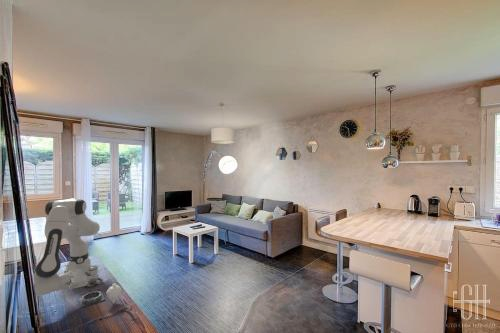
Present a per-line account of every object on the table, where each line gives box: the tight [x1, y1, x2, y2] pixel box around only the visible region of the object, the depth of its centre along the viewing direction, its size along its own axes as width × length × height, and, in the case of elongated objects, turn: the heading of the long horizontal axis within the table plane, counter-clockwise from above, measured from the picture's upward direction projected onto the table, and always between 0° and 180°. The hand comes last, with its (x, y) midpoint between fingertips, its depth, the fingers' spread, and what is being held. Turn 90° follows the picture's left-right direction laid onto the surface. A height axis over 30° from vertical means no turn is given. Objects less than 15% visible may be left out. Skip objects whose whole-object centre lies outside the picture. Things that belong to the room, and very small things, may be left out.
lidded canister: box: [87, 264, 99, 286], centre depth 141 cm, size 5×5×10 cm
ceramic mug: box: [86, 273, 104, 288], centre depth 159 cm, size 11×8×8 cm
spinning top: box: [106, 283, 122, 304], centre depth 138 cm, size 8×8×12 cm
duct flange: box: [77, 290, 106, 309], centre depth 141 cm, size 12×12×3 cm
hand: (94, 273), depth 141 cm, fingers closed on lidded canister, 5 cm apart
